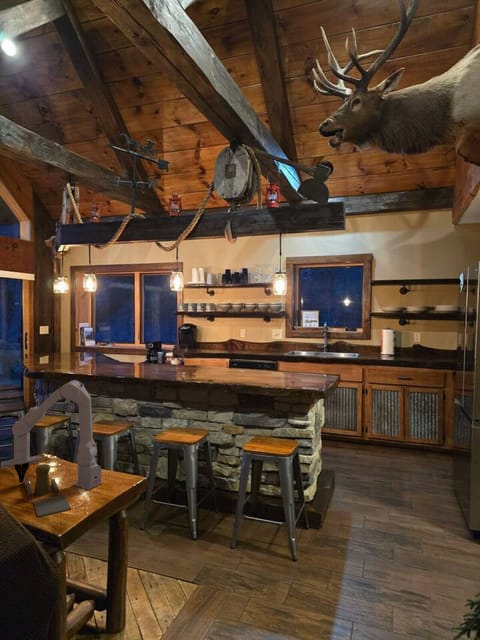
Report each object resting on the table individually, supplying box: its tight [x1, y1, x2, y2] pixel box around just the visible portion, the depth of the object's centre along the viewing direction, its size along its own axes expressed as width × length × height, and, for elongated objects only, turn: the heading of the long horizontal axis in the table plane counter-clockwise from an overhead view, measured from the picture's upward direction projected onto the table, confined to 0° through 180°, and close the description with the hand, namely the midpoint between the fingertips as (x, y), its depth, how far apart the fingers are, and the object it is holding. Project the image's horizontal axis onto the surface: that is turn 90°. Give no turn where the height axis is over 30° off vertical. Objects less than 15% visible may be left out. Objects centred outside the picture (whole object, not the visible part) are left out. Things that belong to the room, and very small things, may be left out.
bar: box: [23, 476, 34, 501], centre depth 164 cm, size 19×2×2 cm, turn 33°
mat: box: [32, 494, 72, 518], centre depth 152 cm, size 13×11×1 cm
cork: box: [33, 463, 51, 497], centre depth 163 cm, size 6×6×11 cm
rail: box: [50, 478, 60, 497], centre depth 166 cm, size 12×1×2 cm, turn 33°
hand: (21, 481), depth 170 cm, fingers closed
